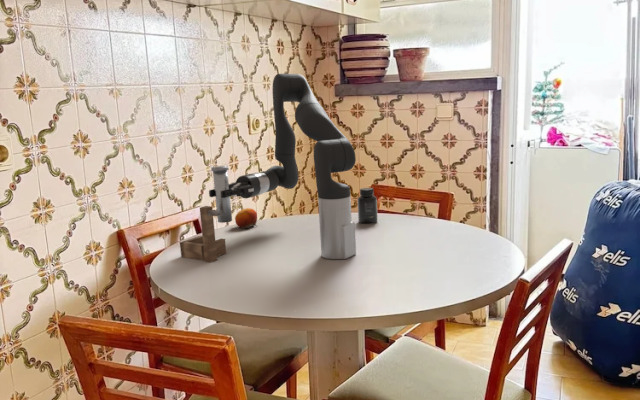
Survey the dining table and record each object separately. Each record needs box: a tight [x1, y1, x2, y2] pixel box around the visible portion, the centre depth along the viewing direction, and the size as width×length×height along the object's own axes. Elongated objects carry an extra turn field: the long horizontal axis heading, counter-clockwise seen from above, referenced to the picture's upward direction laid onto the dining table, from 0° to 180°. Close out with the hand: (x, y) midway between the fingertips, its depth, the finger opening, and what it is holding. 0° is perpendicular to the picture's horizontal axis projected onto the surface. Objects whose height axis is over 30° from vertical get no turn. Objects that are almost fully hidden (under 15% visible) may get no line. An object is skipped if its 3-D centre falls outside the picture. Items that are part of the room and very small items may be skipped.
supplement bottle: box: [357, 187, 379, 225], centre depth 200 cm, size 7×7×12 cm
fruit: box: [234, 207, 258, 229], centre depth 204 cm, size 8×8×8 cm
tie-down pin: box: [211, 165, 233, 224], centre depth 174 cm, size 5×5×17 cm
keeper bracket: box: [179, 205, 227, 263], centre depth 167 cm, size 16×9×16 cm, turn 56°
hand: (216, 194), depth 172 cm, fingers closed on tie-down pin, 4 cm apart
